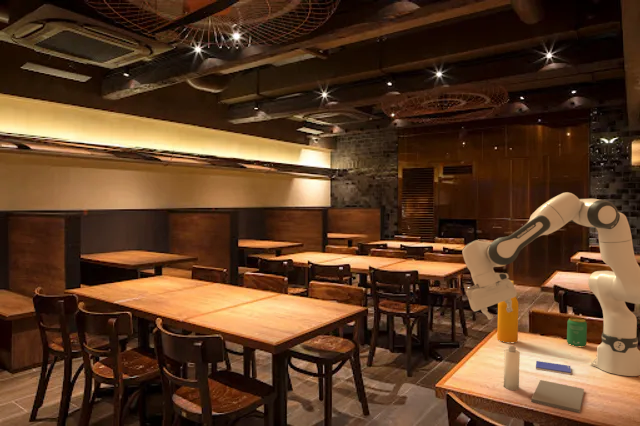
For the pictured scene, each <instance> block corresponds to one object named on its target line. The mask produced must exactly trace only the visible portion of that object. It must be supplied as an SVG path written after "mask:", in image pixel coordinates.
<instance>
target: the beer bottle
mask: <svg viewBox="0 0 640 426" xmlns="http://www.w3.org/2000/svg"><path fill="white" fill-rule="evenodd" d="M511 282H512V283H513V285H514V286H515V283H514V280H511ZM511 301H512V306H511V307H512V309H513V311H512V312H507V310H506V308H507V303H505V301H503V302H500V303H497V330H496V331H497V333H496V334H497V335H496V338H497V340H498V341H499V340H500V341H504V342H516V343H518V338H519V335H518V334H519V307H520V306H519V300H518V299H517V296H516V297H513V298H511ZM500 341H499V342H500ZM504 342H503V343H504Z"/></svg>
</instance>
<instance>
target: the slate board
mask: <svg viewBox="0 0 640 426" xmlns="http://www.w3.org/2000/svg"><path fill="white" fill-rule="evenodd" d="M584 392H585V389H584V388H582V387H577V386H572V385H567V384H561V383H559V382H558V383H556V382H552V381H547V380H544V379H543V380H542V379H541V380H540V379H539V382H538V384H537V386H536V388H535V390H534V392H533V394H532V397H531V403H535V404H539V405H544V406H547V407H552V408H557V409H562V410H565V411H570V412H574V413H578V414H580V412H581V407H582V402H583V398H584V395H585V393H584Z"/></svg>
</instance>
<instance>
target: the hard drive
mask: <svg viewBox="0 0 640 426" xmlns="http://www.w3.org/2000/svg"><path fill="white" fill-rule="evenodd" d="M535 370H540V371H543V372H544V371H545V372H552V373H558V374H562V375H563V374H565V375H572V368H571V365H566V364H561V363H560V364H559V363H553V362H548V361H538V360H536V363H535Z"/></svg>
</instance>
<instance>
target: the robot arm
mask: <svg viewBox="0 0 640 426" xmlns="http://www.w3.org/2000/svg"><path fill="white" fill-rule="evenodd" d="M569 222H572V223H573V224H576V225H580V226H584V227H587V228H591V227H592V228H595V229H596V231H597V235H598V245H599V251H600V259H601V260H602V261H603V262H604V263H605V264H606V265H607V266H608V267H609V268H610V269H611V270H597V271H596V270H595V271H594V272H592V273H591V274H590V276H589V277H588V280H587V285H588V288H589V290H590V291H591V292H592V293H593V295H594V296H595V297H596V299H597V301H598V302H599V304H600V307H601V310H602V316H603V317H602V319H603V327H602V328H603V331H602V333H601V343H600V344H598V345H597V347H596V358H595V359H594V360H592V361H591V363H590V365H591V366H593V367H596V368H597V369H600V370H602V371H603V372H606V373H610V374H613V375H618V376H625V377H627V376H628V377H637V376H640V350H639V348H638V346H639V345H638V343H639V341H638V337H637V329H638V327H637V325H638V321H637V320H638V319H637V316H636V315H635V314H634V312H632V311H631V310H630V309H629V308H628V306H627V304H626V303H630V304H635V305H640V265H639V264H638V261H637V259H636V256H635V251H634V246H633V237H632V233H631V227H630V224H629V221H628V218H627V216H626V215H625V213H622V212H620V211H619V209H618V208H617V206H616V205H614V204H613V203H612V202H610V201H608V200H605V199H597V198H579V197H578V196H577V195H575V194H574V193H572V192H568V191H567V192H562V193H560V194H558V195H556V196H554V197H552V198H550V199H549V200H547V201H546V202H544V203H543V204H542V205H540V206H539V207H538V208H536V210H535V211H534V212H532V214H530V217H529V220H528V221H527V222H526V223H525V224H524V225H523V226H521V227H519V229H517V230H516V231H514V232H513V233H512V234H509V235H508V236H502V237H498V238H496V239H494V240H493V241H492V242H491V241H482V240H478V239H475V240H473V241H471V242H469V243H467V244H466V245H465V246H463V248H462V253H461V254H462V258H463V261H464V263H465V265H466V268H467V269H468V270H469V272H470V275H471V279H472V282H473V284H474V285H472V286H469V287H467V289H466V291H465V294H466V296H467V298H468V303H469V306H470V309H471V310H472V311H473V312H478V311H481V312H482V314H483V315H485V316H486V317H487V318H486V319H487V320H489V321H490V320H493V319H494V315H493V314H492V313H490V312H489V311H488V310H489V309H488V307H492V306H494V305H498V303H500V302H503V301H505V303H507V308H506V310H507V312H512V311H513V309H512V307H511V306H512V301H511V298H513V297H516V298H517V297H518V292H517V289H516V287H515V284H514V285H513V283H512V282H511V281H512V280H511V279H509V278H510V276H509V274H508V273H506V272H505V273H504V272H496V271H495V270H494V268H499V267H505V266H507V265H510V264H512V263H513V262H515V260H516V259H517V257H518V256H519V254H520V252H521V250H523V249H524V247H526V246H527V245H529V244H530V243H532V242H533V241H534V240H536V239H537V238H539V237H541V236H549V234H552V233H554V232H557V231H558V230H560V229H561V228H562V227H564V226H565V225H566V224H568V223H569Z"/></svg>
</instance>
